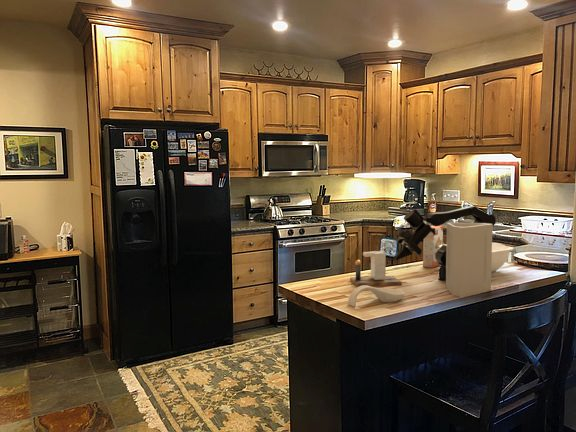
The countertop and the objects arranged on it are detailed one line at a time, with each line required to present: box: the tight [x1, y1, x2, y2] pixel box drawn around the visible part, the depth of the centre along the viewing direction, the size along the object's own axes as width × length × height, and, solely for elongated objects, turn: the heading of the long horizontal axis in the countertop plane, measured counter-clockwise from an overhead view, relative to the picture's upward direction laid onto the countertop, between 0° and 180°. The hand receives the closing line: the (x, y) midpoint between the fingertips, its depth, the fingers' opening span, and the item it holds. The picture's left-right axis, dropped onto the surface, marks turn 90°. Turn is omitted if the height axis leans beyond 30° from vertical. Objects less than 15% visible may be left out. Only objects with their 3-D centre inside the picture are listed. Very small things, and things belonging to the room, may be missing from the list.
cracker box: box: [422, 225, 444, 269], centre depth 247 cm, size 14×6×21 cm, turn 143°
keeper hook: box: [354, 259, 362, 280], centre depth 210 cm, size 3×3×9 cm
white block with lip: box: [362, 250, 387, 280], centre depth 211 cm, size 9×6×12 cm, turn 96°
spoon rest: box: [347, 285, 405, 308], centre depth 180 cm, size 24×12×7 cm, turn 116°
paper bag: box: [445, 222, 493, 298], centre depth 195 cm, size 19×15×28 cm
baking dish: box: [438, 242, 514, 273], centre depth 233 cm, size 34×28×13 cm
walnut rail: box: [349, 275, 403, 288], centre depth 212 cm, size 20×12×2 cm, turn 96°
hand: (395, 259), depth 212 cm, fingers closed
